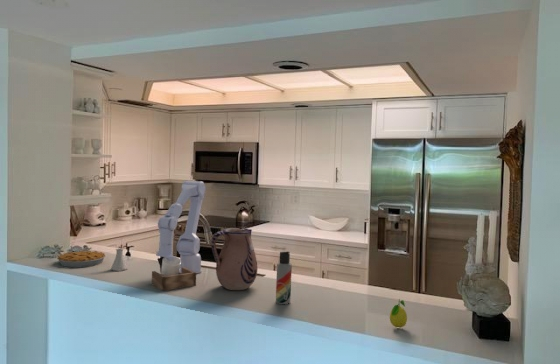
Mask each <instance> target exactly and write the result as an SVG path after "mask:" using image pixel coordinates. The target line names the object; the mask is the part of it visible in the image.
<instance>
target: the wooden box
mask: <svg viewBox="0 0 560 364" xmlns="http://www.w3.org/2000/svg"><path fill="white" fill-rule="evenodd" d="M151 285H152V286H154V287H156V288H157V289H159V290H161V291H169V290H175V289H182V288H187V287H193V286H197V273H196V272H194V271H191V270H189V269H187V268H185V267H182V269H181V273H178V275H172V276H163V275H161V273H160V272H157V271H156V270H153V271H151Z"/></svg>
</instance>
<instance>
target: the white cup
mask: <svg viewBox="0 0 560 364" xmlns="http://www.w3.org/2000/svg"><path fill="white" fill-rule="evenodd" d="M180 265H181V260H180V257H177V256H174V261H169V260H168V259H167V258H165V257H164V258H163V261H162V268H161V272H160V274H161V275H163V276H172V275H179V274H180V273H179V270H180Z"/></svg>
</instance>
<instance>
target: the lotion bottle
mask: <svg viewBox="0 0 560 364" xmlns="http://www.w3.org/2000/svg"><path fill="white" fill-rule="evenodd" d="M290 256H291V254H290V251H280V252H279V262H277V264H276V281H275V282H276V283H275V285H276V286H275V303H276V302H277V303H276V304H278V303H279V304H278V305H282V304H285V305H289V304H291V299H292V298H291V291H292V272H293V271H292V269H293V267H292V266H293V265H292V263H291V262H290V258H291V257H290ZM288 303H289V304H288Z"/></svg>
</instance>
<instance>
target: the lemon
mask: <svg viewBox="0 0 560 364" xmlns="http://www.w3.org/2000/svg"><path fill="white" fill-rule="evenodd" d="M398 303H399V304H401V305H402V306H401V305H399V304H395V305H394V306H393V307H392V308H391V310H390V314H389V321H390V323H391V325H392V326H394V327H395V328H396V327H400V328H403V327H405V326H406V325H407V322H408V317H407V316H408V315H407V312H406V310H405V309H404V308H403V307H406V305H405V304H406V303H405V301H404V300H401V301H400V298H399V299H398Z"/></svg>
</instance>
